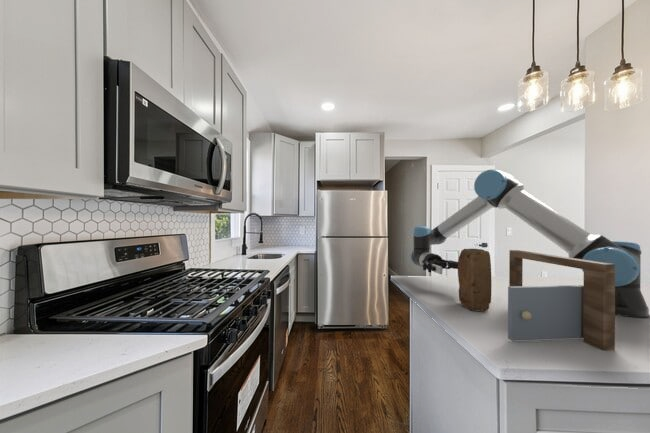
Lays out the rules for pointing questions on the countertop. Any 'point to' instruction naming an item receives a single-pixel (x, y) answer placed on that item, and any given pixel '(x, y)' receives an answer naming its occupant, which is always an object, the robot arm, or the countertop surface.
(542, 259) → the door frame
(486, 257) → the brown elongated rounded part
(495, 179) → the robot arm
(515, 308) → the door
